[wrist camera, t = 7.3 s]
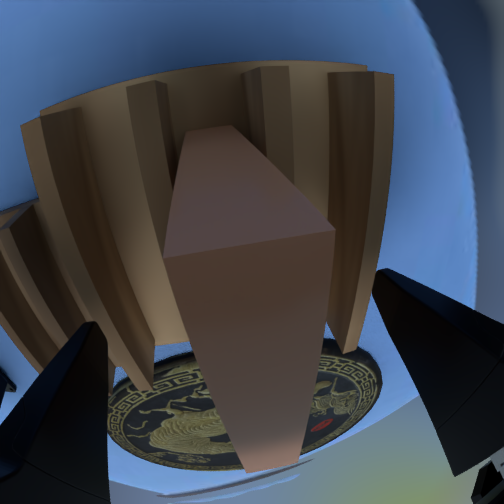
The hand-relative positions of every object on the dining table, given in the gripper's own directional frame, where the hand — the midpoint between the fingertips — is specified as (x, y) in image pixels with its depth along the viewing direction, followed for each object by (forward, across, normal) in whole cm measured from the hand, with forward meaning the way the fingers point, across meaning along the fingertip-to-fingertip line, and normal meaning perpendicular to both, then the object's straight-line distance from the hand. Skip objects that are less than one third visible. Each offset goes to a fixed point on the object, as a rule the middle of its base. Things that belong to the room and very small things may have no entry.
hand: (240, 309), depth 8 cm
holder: (+6, +11, +3) cm, 13 cm away
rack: (+6, 0, 0) cm, 6 cm away
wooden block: (+5, 0, 0) cm, 5 cm away
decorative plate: (+7, +1, +24) cm, 25 cm away
